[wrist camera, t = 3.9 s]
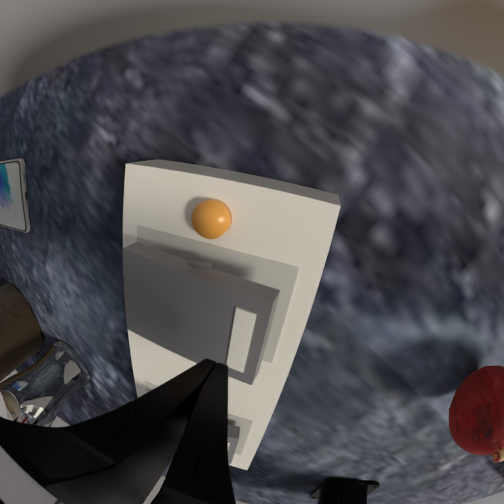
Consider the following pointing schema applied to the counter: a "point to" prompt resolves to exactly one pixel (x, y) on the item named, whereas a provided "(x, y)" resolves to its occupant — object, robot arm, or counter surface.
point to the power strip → (233, 265)
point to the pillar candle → (16, 330)
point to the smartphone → (13, 195)
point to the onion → (480, 413)
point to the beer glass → (43, 386)
